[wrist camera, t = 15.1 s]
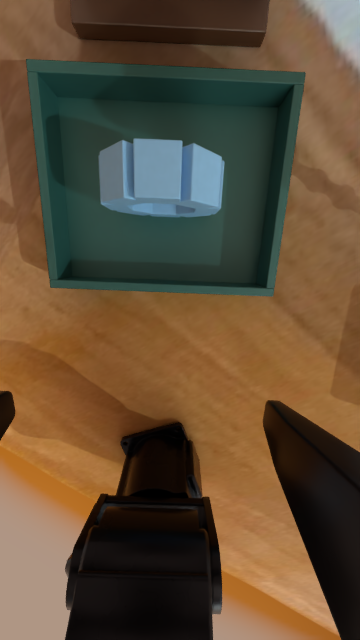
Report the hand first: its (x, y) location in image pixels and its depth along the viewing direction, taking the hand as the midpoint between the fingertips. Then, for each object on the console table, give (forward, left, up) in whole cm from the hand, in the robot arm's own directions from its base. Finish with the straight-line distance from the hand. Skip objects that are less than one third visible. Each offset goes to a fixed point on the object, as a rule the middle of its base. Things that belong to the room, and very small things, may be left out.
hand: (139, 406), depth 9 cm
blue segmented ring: (+3, +8, -9) cm, 13 cm away
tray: (+3, +8, -13) cm, 16 cm away
